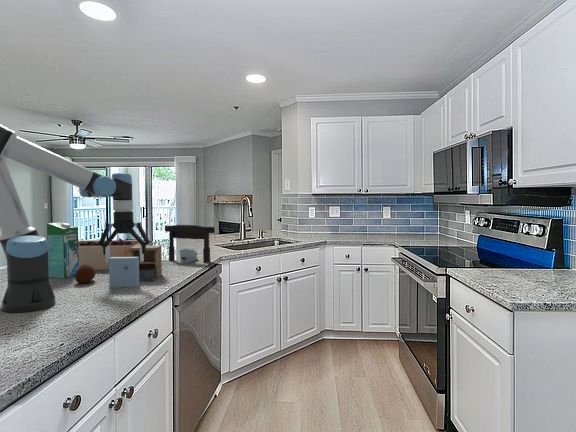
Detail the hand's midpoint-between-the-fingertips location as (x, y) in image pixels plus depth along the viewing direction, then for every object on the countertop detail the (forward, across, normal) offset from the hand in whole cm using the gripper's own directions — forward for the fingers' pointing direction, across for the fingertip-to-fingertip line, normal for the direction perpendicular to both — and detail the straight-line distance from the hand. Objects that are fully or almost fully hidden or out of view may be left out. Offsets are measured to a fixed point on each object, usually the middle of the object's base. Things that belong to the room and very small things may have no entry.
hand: (125, 262), depth 164 cm
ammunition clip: (+10, +6, -36) cm, 38 cm away
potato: (+10, +20, -9) cm, 24 cm away
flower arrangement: (+10, +26, -52) cm, 59 cm away
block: (+10, 0, 0) cm, 10 cm away
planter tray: (+10, +26, -53) cm, 60 cm away
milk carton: (+10, +36, -24) cm, 44 cm away
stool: (+11, -16, -63) cm, 66 cm away
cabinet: (+10, -3, -16) cm, 19 cm away
